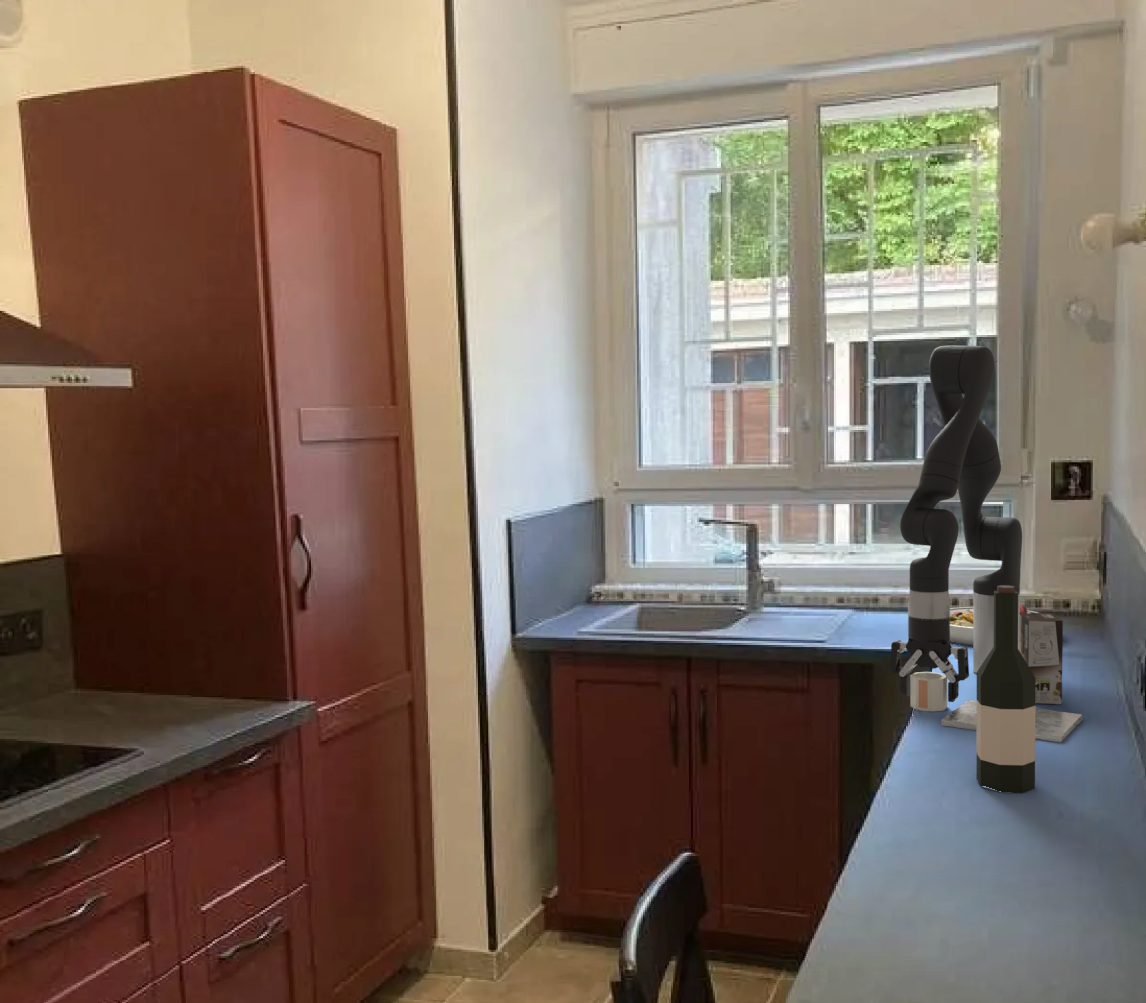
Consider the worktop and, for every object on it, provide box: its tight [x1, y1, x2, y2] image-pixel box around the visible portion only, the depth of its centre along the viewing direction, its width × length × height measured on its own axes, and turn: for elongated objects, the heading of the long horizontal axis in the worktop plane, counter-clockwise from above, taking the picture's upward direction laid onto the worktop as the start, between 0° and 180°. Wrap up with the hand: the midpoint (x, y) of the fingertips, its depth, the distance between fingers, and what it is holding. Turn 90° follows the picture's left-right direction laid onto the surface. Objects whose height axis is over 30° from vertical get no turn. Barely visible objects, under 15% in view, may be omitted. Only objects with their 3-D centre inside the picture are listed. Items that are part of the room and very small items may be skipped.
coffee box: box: [1019, 612, 1064, 705], centre depth 214 cm, size 9×6×16 cm
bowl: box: [950, 603, 1039, 646], centre depth 273 cm, size 30×30×8 cm
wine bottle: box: [976, 585, 1036, 794], centre depth 165 cm, size 8×8×30 cm
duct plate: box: [941, 699, 1083, 743], centre depth 198 cm, size 16×20×6 cm
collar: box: [909, 671, 948, 712], centre depth 210 cm, size 6×6×6 cm
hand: (928, 698), depth 210 cm, fingers open, 8 cm apart
